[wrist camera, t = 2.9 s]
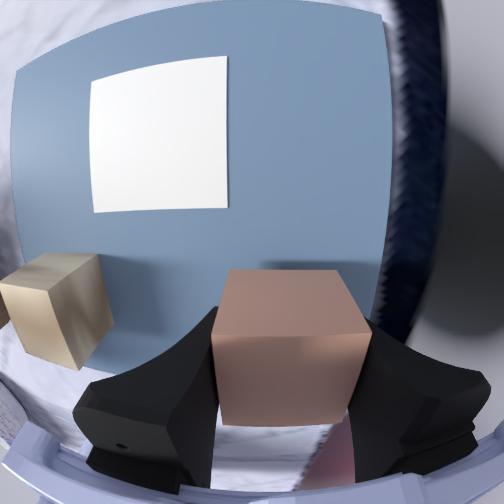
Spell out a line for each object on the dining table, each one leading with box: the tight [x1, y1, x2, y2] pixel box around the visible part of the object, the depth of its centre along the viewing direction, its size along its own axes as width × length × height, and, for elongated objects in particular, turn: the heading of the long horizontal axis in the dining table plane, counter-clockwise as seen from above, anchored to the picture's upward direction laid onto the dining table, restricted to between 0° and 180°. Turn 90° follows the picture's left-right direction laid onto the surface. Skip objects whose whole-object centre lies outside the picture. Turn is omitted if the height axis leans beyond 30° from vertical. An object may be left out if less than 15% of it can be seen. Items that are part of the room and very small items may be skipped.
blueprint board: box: [10, 0, 392, 375], centre depth 12 cm, size 22×22×1 cm
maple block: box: [0, 252, 115, 371], centre depth 12 cm, size 4×4×4 cm
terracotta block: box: [211, 269, 372, 427], centre depth 10 cm, size 4×4×4 cm
